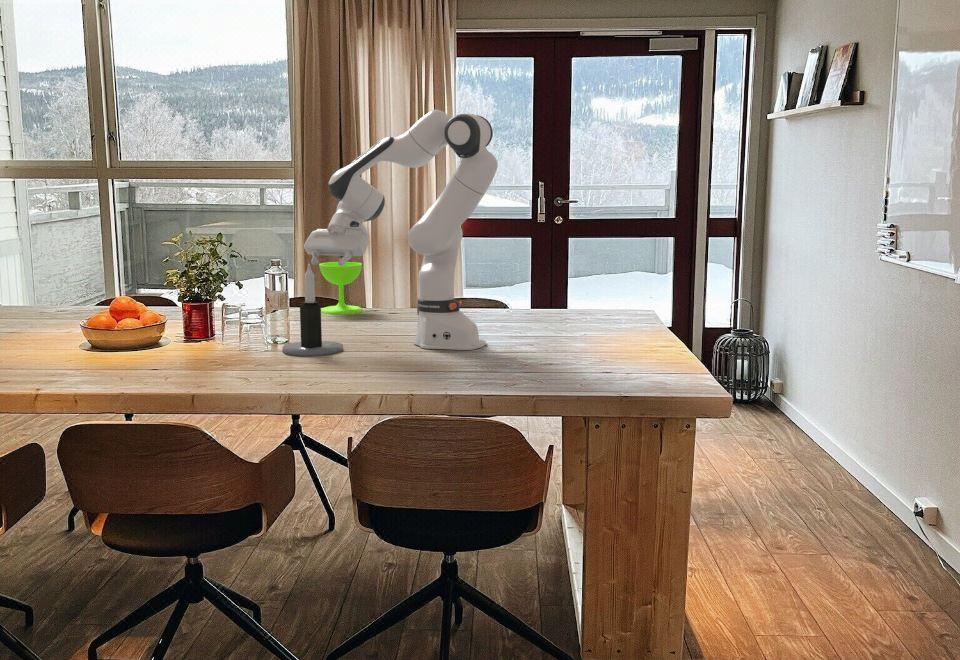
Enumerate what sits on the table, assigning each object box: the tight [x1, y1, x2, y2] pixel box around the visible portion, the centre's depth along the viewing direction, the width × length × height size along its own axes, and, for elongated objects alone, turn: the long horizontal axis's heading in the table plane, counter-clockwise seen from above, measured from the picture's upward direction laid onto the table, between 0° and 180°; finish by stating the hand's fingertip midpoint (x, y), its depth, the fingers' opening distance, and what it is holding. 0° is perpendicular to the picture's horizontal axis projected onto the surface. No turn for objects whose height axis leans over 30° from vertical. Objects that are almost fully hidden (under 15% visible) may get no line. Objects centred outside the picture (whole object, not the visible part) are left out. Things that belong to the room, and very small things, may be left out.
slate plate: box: [281, 340, 344, 357], centre depth 279 cm, size 18×18×1 cm
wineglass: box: [318, 261, 364, 316], centre depth 351 cm, size 16×16×18 cm
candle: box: [299, 263, 323, 348], centre depth 277 cm, size 5×5×25 cm
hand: (327, 264), depth 283 cm, fingers open, 8 cm apart
